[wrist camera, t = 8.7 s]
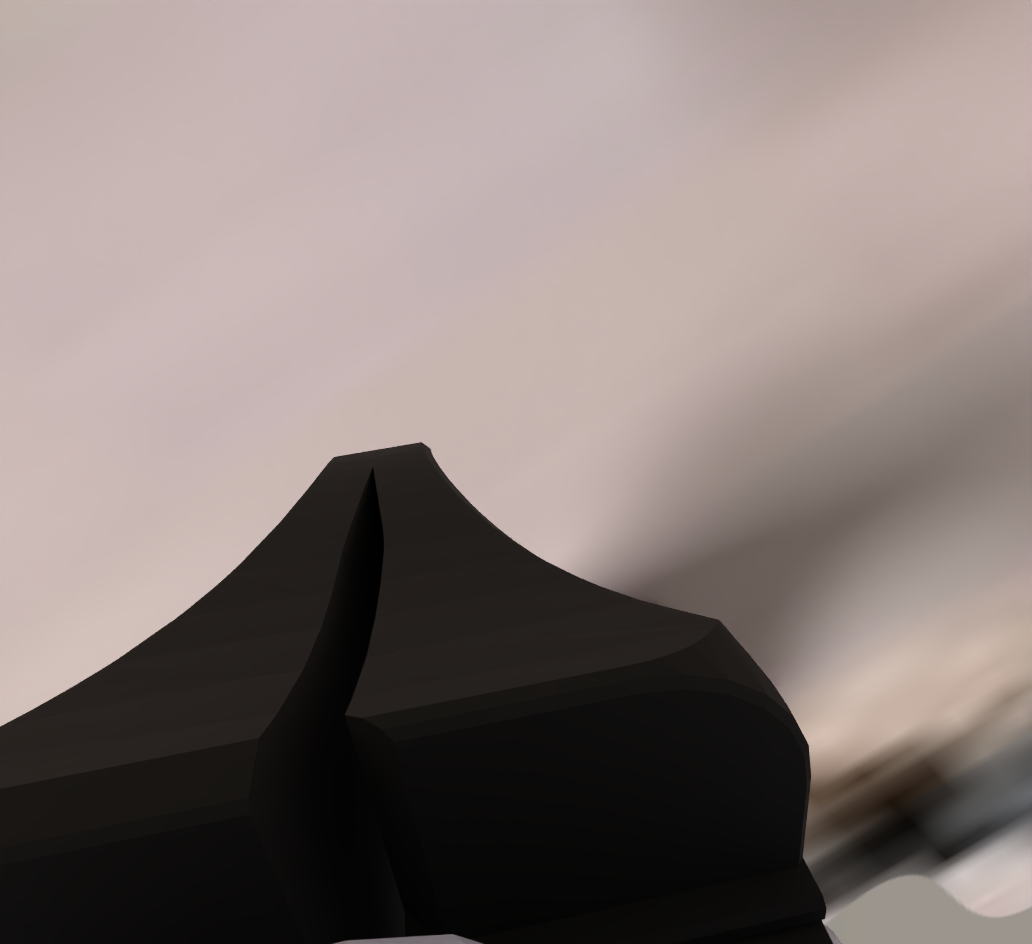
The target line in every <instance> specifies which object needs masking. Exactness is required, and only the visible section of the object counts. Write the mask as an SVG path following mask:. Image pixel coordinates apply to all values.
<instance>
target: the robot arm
mask: <svg viewBox="0 0 1032 944" xmlns="http://www.w3.org/2000/svg"><path fill="white" fill-rule="evenodd" d="M810 782H811V768H810V756H809V745H808V743H807V741H806V739H805V737H804V735H803V734H802V732H801V730H800V728H799V726H798V724H797V722H796V720H795V718H794V717H793V715H792V713H791V711H790V709H789V708H788V706H787V704H786V703H785V701H784V700H783V698H782V697H781V695H780V694H779V692H778V691H777V689H776V688H775V686H774V685H773V684H772V682H771V681H770V680H769V678H768V677H767V676H766V675H765V673H764V672H763V671H762V670H761V669H760V667H759V666H758V665H757V664H756V662H755V661H754V660H753V659H752V658H751V656H750V655H749V654H748V653H747V652H746V651H745V649H744V648H743V647H742V646H741V645H740V644H739V642H738V641H737V640H736V639H735V638H734V637H733V635H732V634H731V633H730V632H729V631H728V630H727V628H726V627H725V626H724V625H723V624H722V623H721V622H720V621H719V620H717V619H713V618H709V617H705V616H700V615H696V614H692V613H688V612H684V611H680V610H676V609H672V608H667V607H663V606H659V605H655V604H651V603H647V602H644V601H640V600H637V599H634V598H632V597H629V596H626V595H623V594H620V593H617V592H614V591H612V590H609V589H606V588H603V587H600V586H598V585H596V584H593V583H591V582H588V581H586V580H584V579H581V578H579V577H577V576H575V575H573V574H570V573H568V572H566V571H564V570H562V569H560V568H558V567H556V566H554V565H552V564H550V563H548V562H546V561H545V560H543V559H541V558H539V557H538V556H536V555H534V554H533V553H531V552H530V551H528V550H527V549H525V548H524V547H522V546H521V545H519V544H518V543H516V542H515V541H514V540H512V539H511V538H510V537H508V536H507V535H506V534H505V533H503V532H502V531H501V530H500V529H498V528H497V527H496V526H495V525H494V524H493V523H491V522H490V521H489V520H488V519H487V518H486V517H485V516H483V515H482V514H481V513H480V512H479V511H478V510H477V509H476V508H475V507H474V506H473V505H472V504H471V503H470V502H469V501H468V500H467V499H466V498H465V497H464V496H463V495H462V494H461V492H460V491H459V490H458V489H457V488H456V487H455V486H454V485H453V484H452V482H451V481H450V480H449V479H448V478H447V476H446V475H445V474H444V472H443V471H442V470H441V468H440V467H439V465H438V464H437V462H436V461H435V459H434V457H433V455H432V453H431V449H430V448H429V447H427V446H426V445H424V444H423V443H422V442H420V443H415V444H409V445H403V446H397V447H391V448H385V449H379V450H373V451H367V452H361V453H355V454H350V455H344V456H338V457H334V458H333V459H332V460H331V461H330V462H329V463H328V464H327V466H326V467H325V468H324V469H323V471H322V472H321V473H320V474H319V476H318V477H317V478H316V480H315V481H314V482H313V483H312V485H311V486H310V487H309V488H308V490H307V491H306V492H305V493H304V494H303V496H302V497H301V498H300V499H299V500H298V502H297V503H296V504H295V505H294V506H293V508H292V509H291V510H290V511H289V512H288V514H287V515H286V516H285V517H284V518H283V520H282V521H281V522H280V523H279V524H278V525H277V526H276V527H275V528H274V529H273V530H272V531H271V532H270V533H269V535H268V536H267V537H266V538H265V539H264V540H263V541H262V542H261V543H260V544H259V545H258V546H257V547H256V548H255V549H254V550H253V551H252V552H251V553H250V554H249V555H248V556H247V557H246V559H245V560H244V561H243V562H242V563H241V564H240V565H239V566H238V567H236V568H235V569H234V570H233V571H232V572H231V573H230V574H229V575H228V576H227V577H226V578H225V579H223V580H222V581H221V582H220V583H219V584H218V585H217V586H216V587H214V588H213V589H212V590H211V591H210V592H208V593H207V594H206V595H205V596H204V597H202V598H201V599H200V600H199V601H197V602H196V603H195V604H194V605H193V606H191V607H190V608H189V609H188V610H186V611H185V612H184V613H183V614H181V615H180V616H179V617H177V618H176V619H175V620H173V621H172V622H170V623H169V624H168V625H166V626H165V627H163V628H162V629H160V630H159V631H158V632H156V633H155V634H153V635H152V636H150V637H149V638H147V639H146V640H145V641H143V642H142V643H140V644H139V645H137V646H136V647H135V648H133V649H132V650H130V651H129V652H127V653H126V654H125V655H123V656H122V657H120V658H119V659H117V660H116V661H114V662H113V663H111V664H110V665H108V666H106V667H105V668H103V669H102V670H100V671H98V672H97V673H95V674H93V675H92V676H90V677H88V678H87V679H85V680H83V681H82V682H80V683H78V684H77V685H75V686H74V687H72V688H70V689H68V690H66V691H65V692H63V693H61V694H59V695H58V696H56V697H54V698H52V699H51V700H49V701H47V702H45V703H43V704H42V705H40V706H38V707H36V708H35V709H33V710H31V711H29V712H27V713H25V714H23V715H22V716H20V717H18V718H16V719H14V720H12V721H10V722H8V723H6V724H5V725H3V726H1V727H0V944H842V943H841V942H840V940H839V939H838V938H837V936H836V935H835V934H834V932H833V931H832V930H831V929H830V928H828V927H827V926H825V925H824V924H823V922H822V919H825V915H826V906H825V902H824V898H823V895H822V893H821V891H820V889H819V887H818V886H817V884H816V882H815V880H814V878H813V876H812V874H811V872H810V870H809V868H808V867H807V865H806V863H805V861H804V859H803V848H804V839H805V829H806V820H807V810H808V801H809V791H810Z"/></svg>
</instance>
